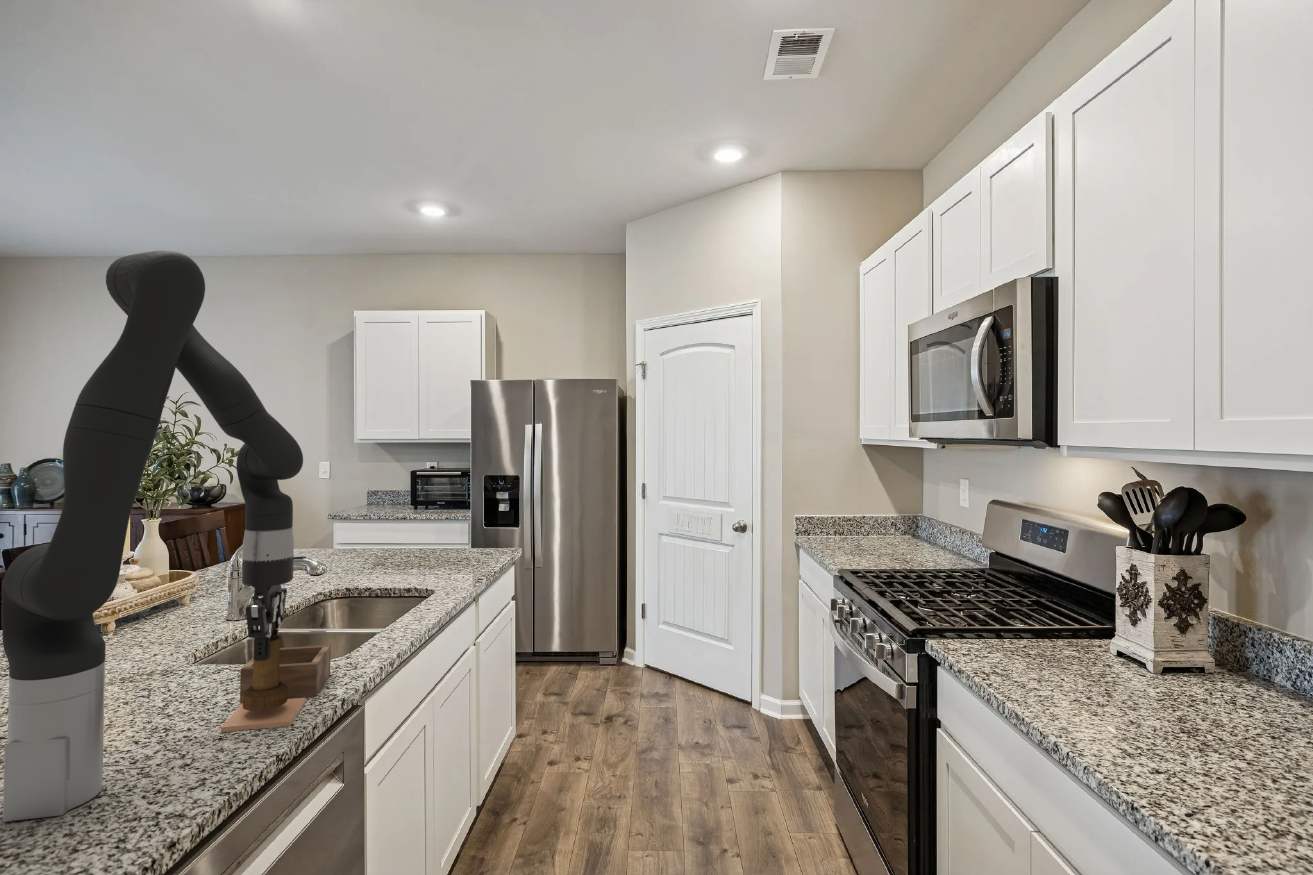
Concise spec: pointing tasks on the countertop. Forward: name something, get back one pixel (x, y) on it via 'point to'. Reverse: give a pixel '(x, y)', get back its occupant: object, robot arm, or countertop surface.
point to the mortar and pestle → (266, 681)
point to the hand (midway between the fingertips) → (266, 654)
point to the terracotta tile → (264, 717)
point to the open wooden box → (296, 670)
